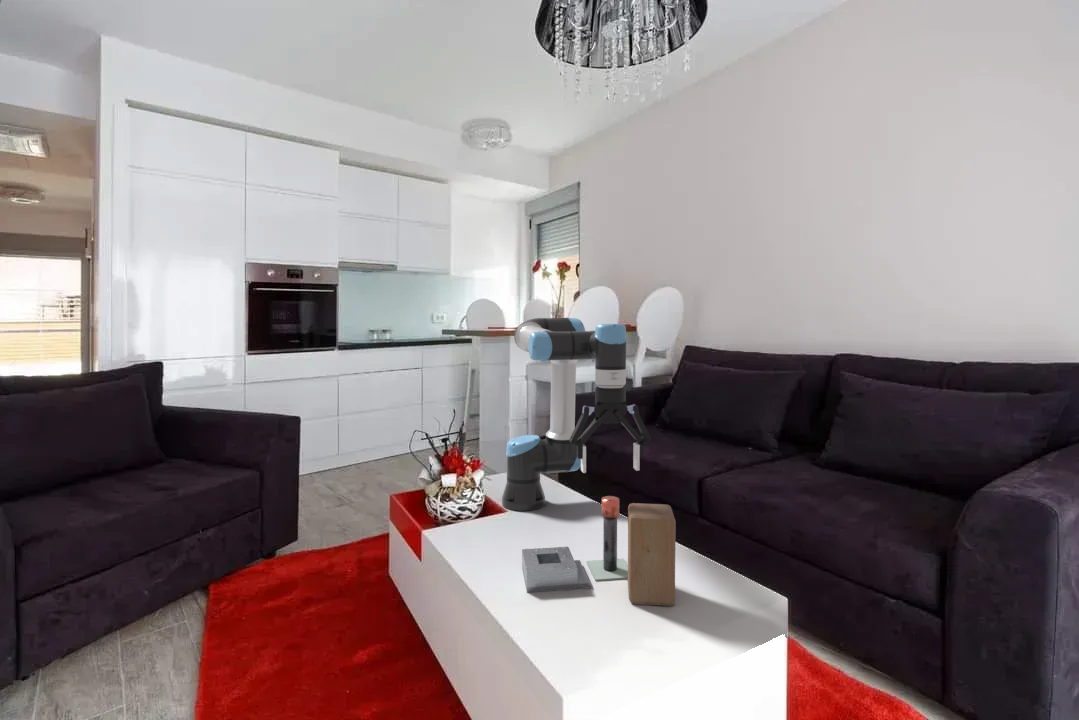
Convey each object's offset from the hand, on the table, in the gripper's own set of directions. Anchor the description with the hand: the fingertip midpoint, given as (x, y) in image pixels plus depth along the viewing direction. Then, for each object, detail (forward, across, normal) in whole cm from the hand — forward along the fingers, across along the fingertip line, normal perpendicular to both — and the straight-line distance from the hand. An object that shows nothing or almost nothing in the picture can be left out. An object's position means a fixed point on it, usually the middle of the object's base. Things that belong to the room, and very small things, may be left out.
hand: (610, 470), depth 129 cm
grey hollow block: (+26, -14, -2) cm, 30 cm away
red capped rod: (+25, 0, 0) cm, 25 cm away
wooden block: (+26, +6, -13) cm, 30 cm away
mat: (+26, 0, 0) cm, 26 cm away
